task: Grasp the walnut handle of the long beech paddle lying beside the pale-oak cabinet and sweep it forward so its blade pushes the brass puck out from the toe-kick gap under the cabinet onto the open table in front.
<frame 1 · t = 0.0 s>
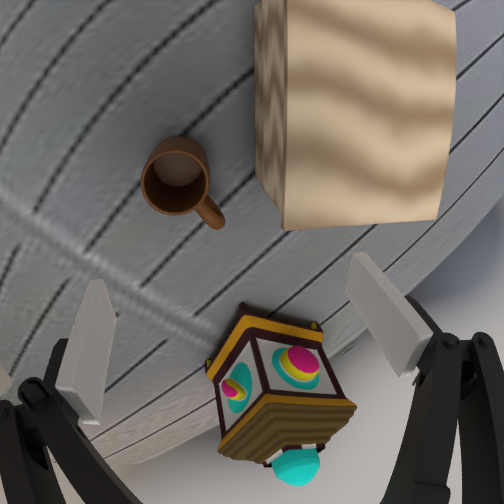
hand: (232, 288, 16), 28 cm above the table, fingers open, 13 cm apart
cabinet: (320, 92, 37), on the table
decorative lantern: (260, 342, 59), on the table
mug: (189, 173, 40), on the table
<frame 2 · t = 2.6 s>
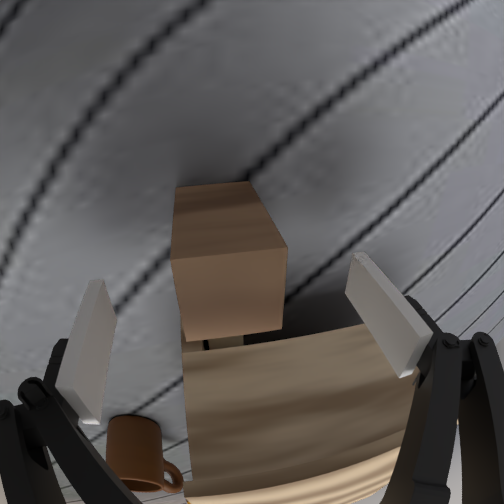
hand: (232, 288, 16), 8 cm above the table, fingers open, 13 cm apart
cabinet: (277, 375, 33), on the table
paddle: (214, 217, 22), on the table
mug: (146, 429, 36), on the table
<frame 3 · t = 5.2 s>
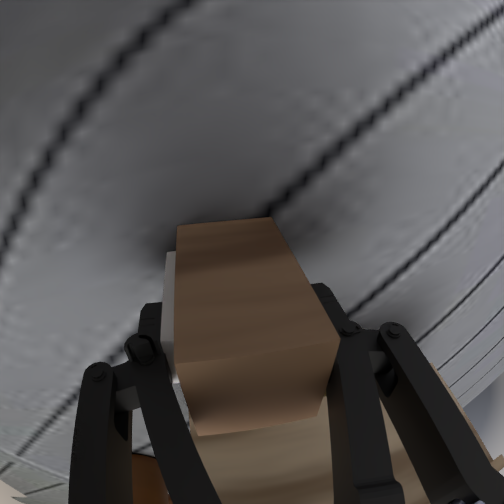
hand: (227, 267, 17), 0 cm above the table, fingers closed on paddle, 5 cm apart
cabinet: (291, 417, 29), on the table
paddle: (226, 261, 17), on the table, touching gripper
mug: (150, 465, 32), on the table
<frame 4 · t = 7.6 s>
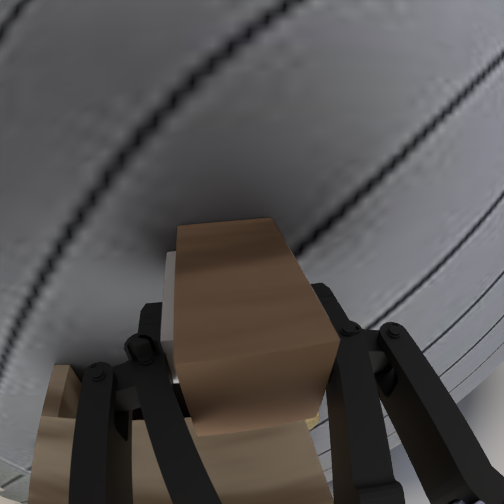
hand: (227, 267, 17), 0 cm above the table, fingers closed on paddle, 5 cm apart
cabinet: (186, 431, 27), on the table
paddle: (227, 261, 17), on the table, touching gripper, puck
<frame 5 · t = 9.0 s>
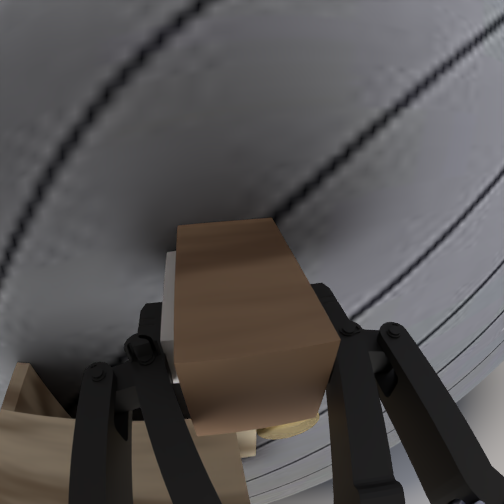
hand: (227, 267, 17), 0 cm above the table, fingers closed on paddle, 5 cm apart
cabinet: (146, 433, 26), on the table
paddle: (226, 261, 17), on the table, touching gripper
puck: (282, 405, 27), on the table
when the fingers open (0 cm above the table, at t = 10.5 s): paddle stays where it is, on the table.
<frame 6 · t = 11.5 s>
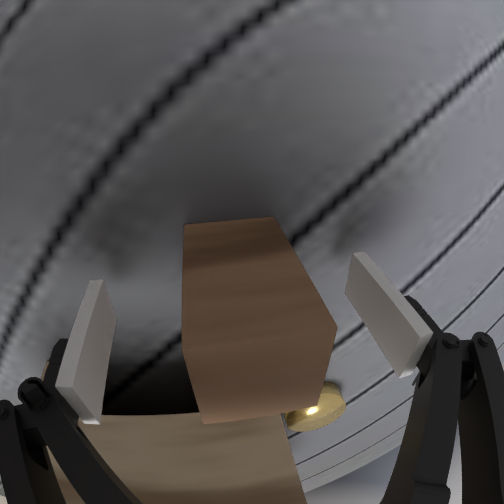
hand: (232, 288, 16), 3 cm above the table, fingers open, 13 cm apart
cabinet: (174, 430, 27), on the table
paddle: (231, 259, 18), on the table
puck: (310, 398, 28), on the table
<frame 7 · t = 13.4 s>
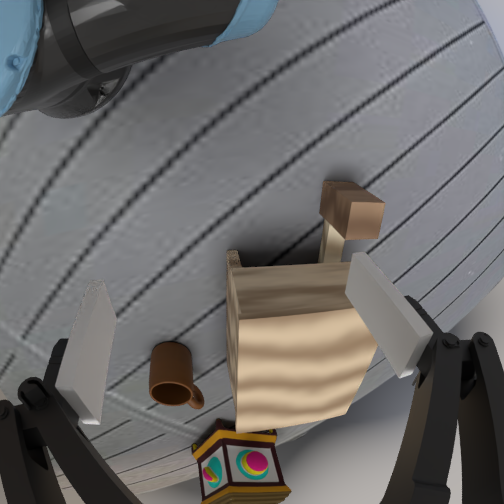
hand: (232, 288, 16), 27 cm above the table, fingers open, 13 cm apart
cabinet: (278, 310, 52), on the table
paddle: (336, 197, 44), on the table
decorative lantern: (231, 435, 72), on the table
mug: (179, 359, 55), on the table
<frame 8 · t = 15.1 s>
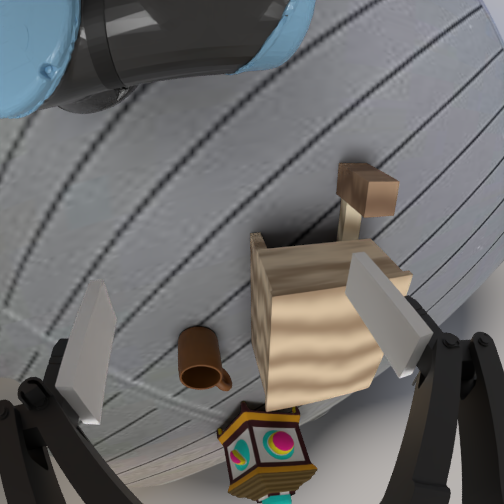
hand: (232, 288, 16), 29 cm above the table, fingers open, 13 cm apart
cabinet: (300, 289, 54), on the table
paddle: (351, 178, 45), on the table
decorative lantern: (255, 418, 76), on the table
mug: (205, 343, 57), on the table
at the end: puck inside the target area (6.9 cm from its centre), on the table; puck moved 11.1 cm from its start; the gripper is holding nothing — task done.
